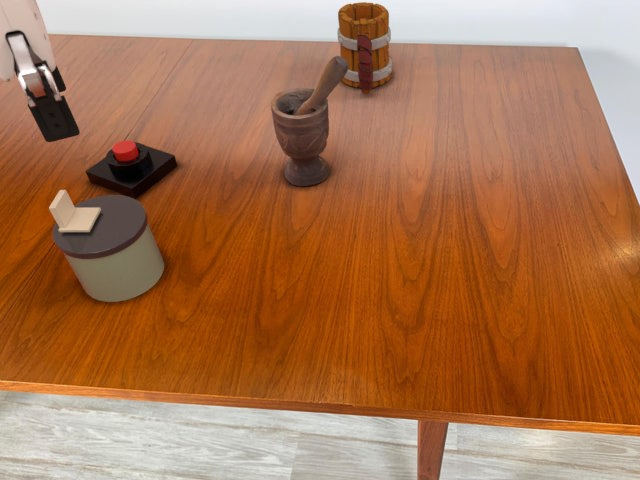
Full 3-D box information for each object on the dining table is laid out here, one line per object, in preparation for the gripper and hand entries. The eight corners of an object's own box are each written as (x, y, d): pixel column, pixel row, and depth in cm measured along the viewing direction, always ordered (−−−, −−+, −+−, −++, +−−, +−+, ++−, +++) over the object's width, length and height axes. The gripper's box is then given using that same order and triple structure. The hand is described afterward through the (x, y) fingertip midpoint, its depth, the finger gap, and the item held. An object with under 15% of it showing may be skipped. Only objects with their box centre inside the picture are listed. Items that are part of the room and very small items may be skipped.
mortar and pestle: (342, 150, 101) (334, 36, 86) (358, 179, 95) (352, 62, 80) (277, 165, 98) (257, 49, 83) (289, 195, 92) (270, 76, 78)
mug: (390, 62, 122) (390, -13, 111) (394, 102, 111) (395, 23, 100) (339, 63, 122) (334, -12, 111) (338, 104, 111) (332, 25, 100)
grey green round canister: (68, 303, 77) (37, 253, 71) (97, 244, 85) (72, 194, 78) (153, 303, 77) (130, 253, 70) (174, 244, 85) (156, 194, 78)
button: (111, 158, 93) (107, 149, 92) (127, 147, 96) (123, 138, 94) (127, 164, 92) (124, 155, 91) (143, 152, 94) (140, 143, 93)
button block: (90, 182, 95) (80, 161, 92) (133, 150, 101) (125, 130, 98) (136, 199, 92) (127, 179, 89) (178, 165, 98) (171, 145, 95)
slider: (59, 232, 73) (46, 210, 70) (72, 209, 76) (60, 187, 73) (89, 232, 73) (78, 210, 70) (101, 209, 76) (90, 187, 73)
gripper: (-81, -94, 52) (11, 86, 64) (-85, -31, 41) (26, 168, 54) (10, -105, 54) (82, 70, 67) (29, -49, 44) (109, 146, 56)
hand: (57, 114), depth 60 cm, fingers open, 9 cm apart
